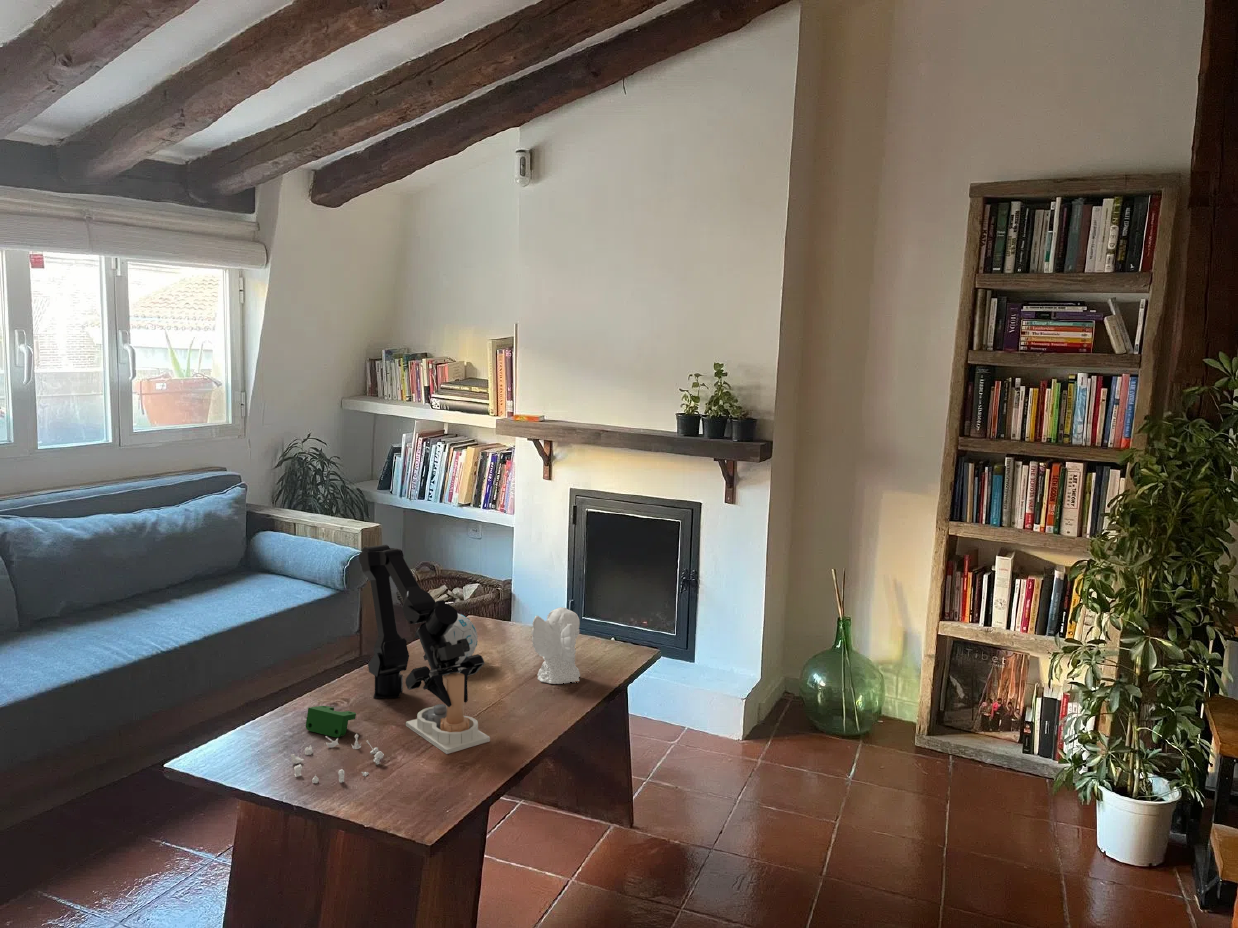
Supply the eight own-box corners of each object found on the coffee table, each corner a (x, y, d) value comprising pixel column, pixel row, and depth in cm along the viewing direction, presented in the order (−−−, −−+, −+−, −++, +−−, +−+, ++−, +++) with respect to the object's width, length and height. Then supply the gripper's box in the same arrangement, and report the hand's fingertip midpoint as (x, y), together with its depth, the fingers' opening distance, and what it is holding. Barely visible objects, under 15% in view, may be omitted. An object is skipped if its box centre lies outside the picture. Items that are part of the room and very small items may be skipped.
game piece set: (397, 751, 214) (397, 735, 214) (354, 792, 195) (354, 774, 195) (320, 740, 219) (320, 725, 218) (270, 779, 199) (270, 762, 199)
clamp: (346, 747, 224) (363, 717, 223) (331, 750, 219) (348, 719, 218) (315, 720, 228) (331, 690, 228) (300, 723, 223) (316, 692, 223)
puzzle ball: (451, 651, 281) (451, 603, 279) (488, 663, 272) (489, 613, 270) (412, 665, 268) (413, 614, 266) (449, 677, 260) (450, 625, 258)
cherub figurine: (591, 676, 264) (594, 607, 262) (572, 691, 253) (574, 619, 250) (549, 668, 269) (551, 600, 267) (529, 683, 258) (530, 612, 255)
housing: (405, 725, 228) (405, 703, 227) (447, 714, 235) (448, 693, 234) (446, 754, 213) (446, 730, 212) (489, 741, 221) (490, 718, 220)
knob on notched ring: (435, 732, 219) (435, 678, 217) (447, 720, 225) (448, 669, 224) (462, 736, 217) (463, 682, 215) (474, 724, 224) (475, 672, 222)
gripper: (411, 635, 215) (435, 697, 208) (481, 621, 227) (506, 679, 220) (395, 659, 222) (417, 719, 215) (463, 644, 234) (487, 700, 227)
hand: (458, 703), depth 219 cm, fingers closed on knob on notched ring, 4 cm apart
